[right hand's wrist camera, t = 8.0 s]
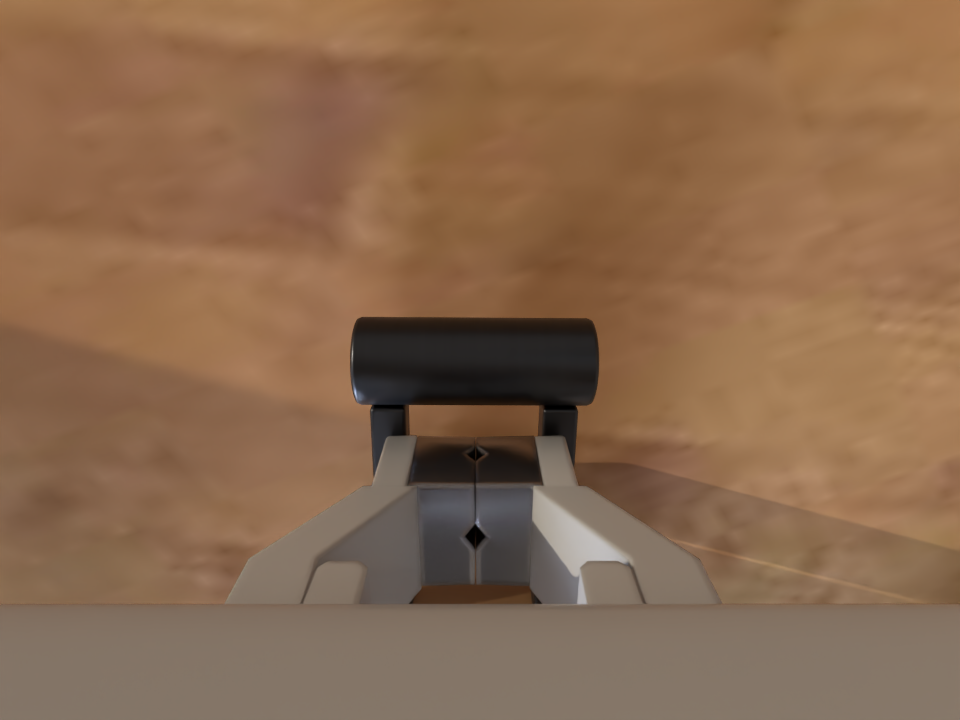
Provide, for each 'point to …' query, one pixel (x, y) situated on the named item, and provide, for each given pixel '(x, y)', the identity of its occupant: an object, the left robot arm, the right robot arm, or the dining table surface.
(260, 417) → the dining table surface
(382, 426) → the drawer
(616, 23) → the dining table surface
